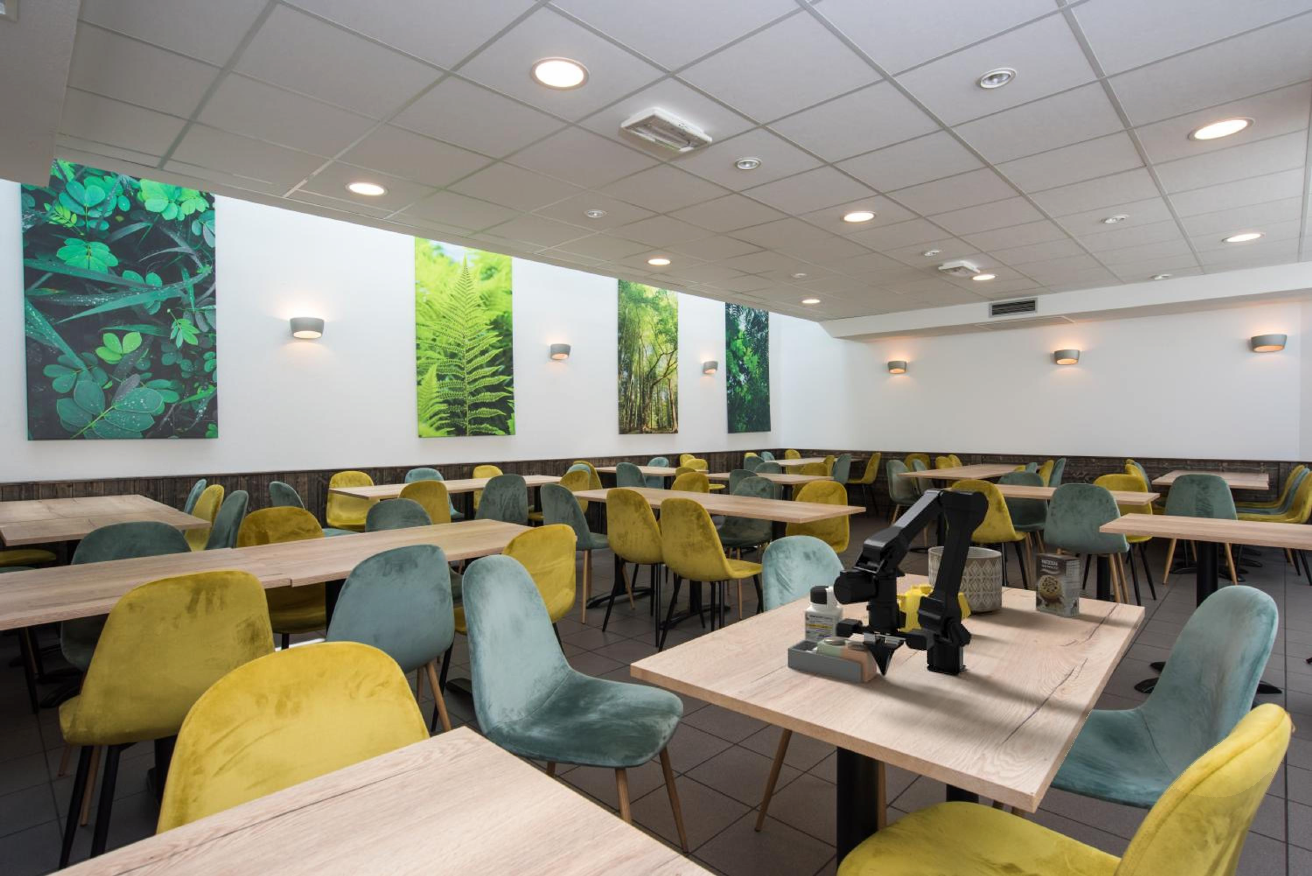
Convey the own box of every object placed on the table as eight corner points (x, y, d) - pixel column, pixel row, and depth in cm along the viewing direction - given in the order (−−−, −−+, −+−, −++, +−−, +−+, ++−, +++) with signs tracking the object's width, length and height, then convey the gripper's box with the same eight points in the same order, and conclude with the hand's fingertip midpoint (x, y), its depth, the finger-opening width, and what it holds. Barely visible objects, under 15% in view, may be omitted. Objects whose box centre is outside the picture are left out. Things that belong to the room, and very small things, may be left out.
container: (804, 641, 166) (804, 588, 166) (812, 633, 173) (812, 582, 172) (836, 645, 162) (835, 592, 162) (843, 637, 169) (842, 585, 169)
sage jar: (851, 669, 146) (851, 638, 146) (841, 676, 142) (841, 645, 142) (828, 663, 150) (827, 634, 150) (817, 670, 145) (817, 640, 145)
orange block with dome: (851, 669, 146) (851, 638, 146) (876, 674, 143) (876, 643, 143) (841, 676, 142) (841, 645, 142) (866, 682, 138) (866, 650, 138)
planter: (1005, 604, 199) (1004, 549, 199) (998, 620, 182) (998, 560, 182) (935, 596, 209) (934, 544, 209) (923, 611, 193) (922, 553, 192)
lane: (875, 672, 144) (875, 653, 144) (860, 683, 138) (860, 663, 138) (804, 656, 154) (804, 639, 154) (787, 666, 148) (787, 648, 148)
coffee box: (1034, 610, 193) (1034, 553, 192) (1049, 607, 195) (1049, 551, 195) (1065, 617, 184) (1065, 559, 184) (1080, 615, 187) (1080, 557, 187)
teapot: (973, 632, 172) (973, 585, 172) (941, 646, 161) (941, 596, 161) (912, 619, 185) (912, 575, 185) (879, 630, 174) (878, 584, 174)
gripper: (940, 597, 140) (942, 673, 139) (853, 587, 151) (854, 657, 151) (925, 608, 131) (926, 689, 131) (833, 596, 142) (834, 670, 142)
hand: (884, 675), depth 139 cm, fingers closed
